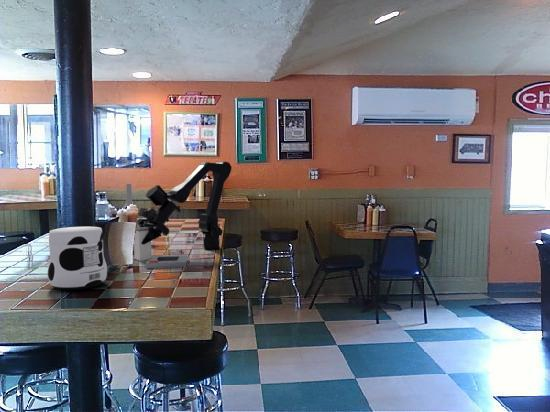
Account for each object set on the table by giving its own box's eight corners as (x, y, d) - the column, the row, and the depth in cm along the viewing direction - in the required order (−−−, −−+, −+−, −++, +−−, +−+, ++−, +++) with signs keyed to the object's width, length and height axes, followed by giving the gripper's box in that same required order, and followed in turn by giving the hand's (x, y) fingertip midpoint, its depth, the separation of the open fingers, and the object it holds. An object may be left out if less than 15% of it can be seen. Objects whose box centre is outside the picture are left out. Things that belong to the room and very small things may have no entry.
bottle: (132, 240, 242) (130, 183, 239) (121, 239, 244) (119, 183, 241) (140, 238, 248) (138, 183, 245) (129, 237, 250) (127, 183, 248)
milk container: (60, 280, 161) (57, 226, 159) (113, 279, 162) (111, 225, 161) (38, 294, 144) (35, 234, 142) (98, 293, 145) (96, 233, 143)
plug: (146, 257, 199) (145, 226, 197) (152, 259, 195) (151, 228, 193) (134, 258, 195) (133, 228, 194) (139, 260, 191) (138, 229, 190)
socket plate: (187, 259, 193) (187, 253, 192) (184, 267, 179) (184, 260, 179) (151, 260, 191) (151, 254, 191) (145, 268, 177) (145, 261, 177)
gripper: (140, 199, 202) (115, 228, 196) (161, 201, 188) (135, 232, 182) (157, 216, 208) (134, 244, 202) (179, 220, 194) (155, 251, 188)
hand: (139, 243), depth 193 cm, fingers closed on plug, 5 cm apart
